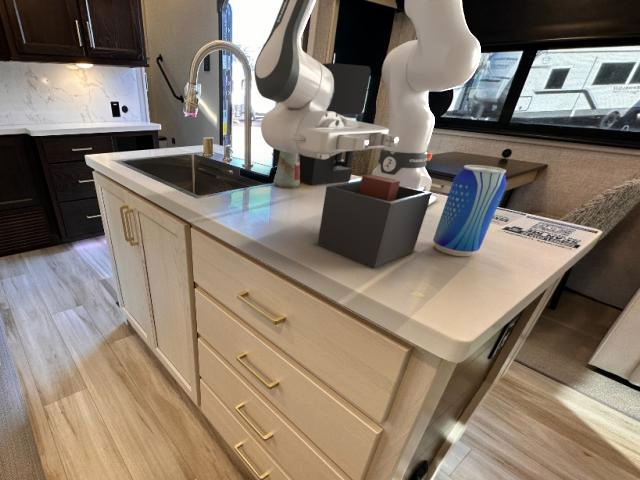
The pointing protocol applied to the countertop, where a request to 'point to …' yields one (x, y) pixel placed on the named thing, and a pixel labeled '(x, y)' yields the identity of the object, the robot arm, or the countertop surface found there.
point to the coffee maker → (344, 101)
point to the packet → (379, 187)
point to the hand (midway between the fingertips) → (381, 143)
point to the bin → (371, 223)
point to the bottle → (288, 170)
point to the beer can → (469, 209)
